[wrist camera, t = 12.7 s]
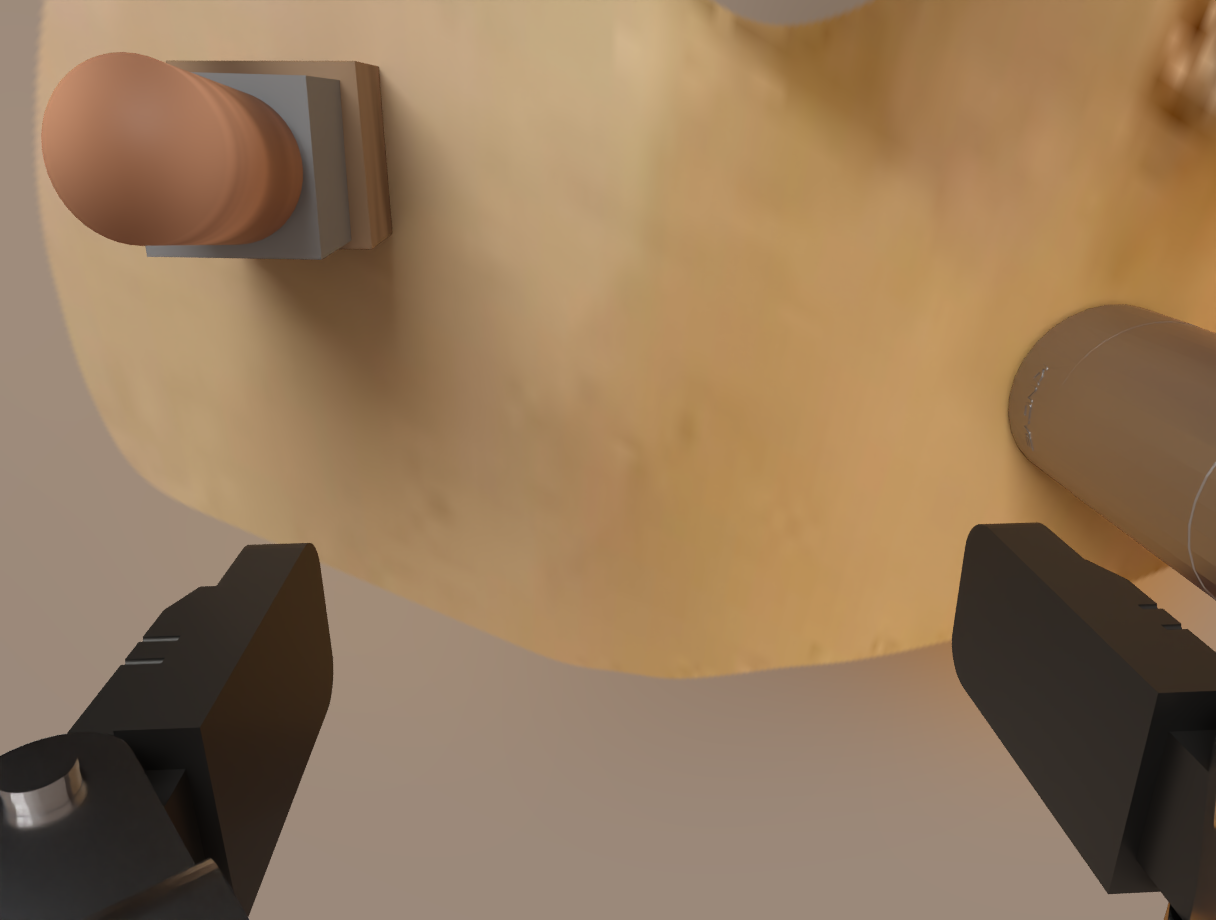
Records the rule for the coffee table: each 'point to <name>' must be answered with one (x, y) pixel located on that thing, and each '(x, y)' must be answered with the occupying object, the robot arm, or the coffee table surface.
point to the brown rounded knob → (168, 155)
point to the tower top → (324, 186)
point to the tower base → (358, 130)
